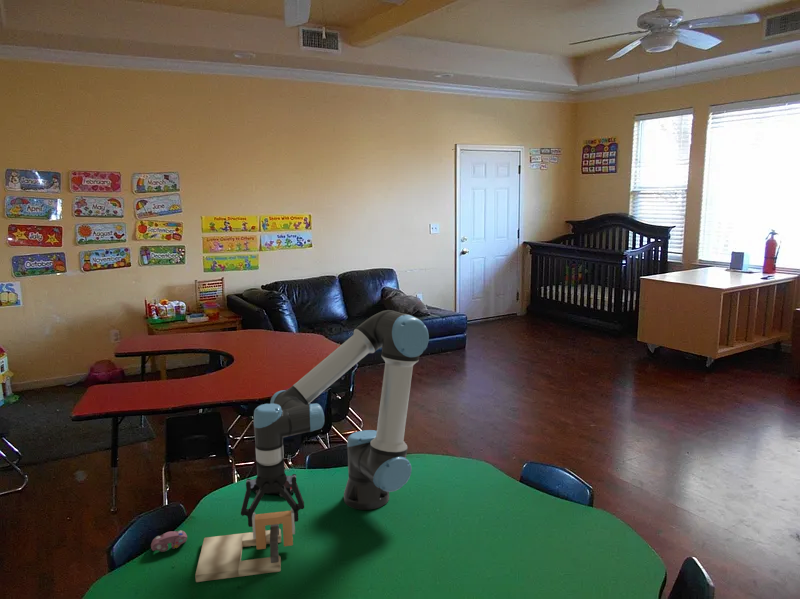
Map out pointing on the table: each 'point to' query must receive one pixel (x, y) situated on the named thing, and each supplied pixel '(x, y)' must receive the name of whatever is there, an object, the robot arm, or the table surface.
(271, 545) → the wooden base with post
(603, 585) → the table surface
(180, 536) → the video game controller
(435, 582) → the table surface
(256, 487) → the toy car
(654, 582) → the table surface
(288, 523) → the tan wooden arch
